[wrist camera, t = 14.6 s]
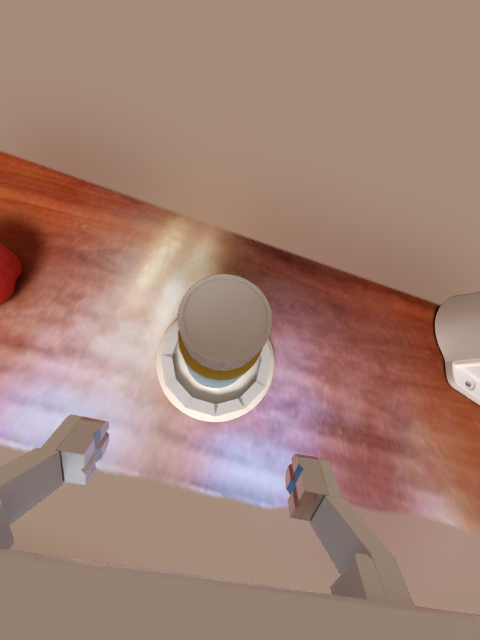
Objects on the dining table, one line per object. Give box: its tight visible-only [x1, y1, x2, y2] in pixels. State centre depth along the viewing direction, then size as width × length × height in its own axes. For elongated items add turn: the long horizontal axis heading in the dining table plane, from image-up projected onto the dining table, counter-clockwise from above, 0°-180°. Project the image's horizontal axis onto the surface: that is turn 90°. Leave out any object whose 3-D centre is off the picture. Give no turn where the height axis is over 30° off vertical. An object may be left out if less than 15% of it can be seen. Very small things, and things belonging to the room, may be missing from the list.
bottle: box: [178, 274, 272, 388], centre depth 23 cm, size 7×7×15 cm
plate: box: [157, 319, 274, 422], centre depth 30 cm, size 14×14×2 cm
